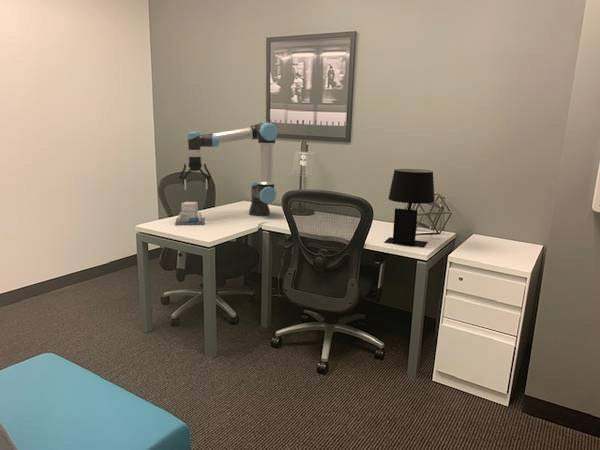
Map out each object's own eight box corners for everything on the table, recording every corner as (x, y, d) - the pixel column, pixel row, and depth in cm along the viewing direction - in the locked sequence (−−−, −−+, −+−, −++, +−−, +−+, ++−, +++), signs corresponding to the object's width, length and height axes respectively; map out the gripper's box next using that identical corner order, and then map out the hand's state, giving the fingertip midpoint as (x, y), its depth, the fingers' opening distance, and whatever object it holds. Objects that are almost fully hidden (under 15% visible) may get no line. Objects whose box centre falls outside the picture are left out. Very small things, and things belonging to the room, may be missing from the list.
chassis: (204, 219, 303) (204, 211, 302) (204, 224, 288) (204, 216, 287) (176, 220, 299) (176, 212, 298) (175, 225, 284) (174, 216, 283)
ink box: (198, 219, 297) (197, 201, 295) (194, 221, 289) (194, 203, 286) (185, 218, 298) (185, 201, 295) (181, 221, 289) (180, 203, 287)
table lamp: (380, 242, 253) (384, 171, 245) (391, 233, 278) (395, 167, 270) (426, 248, 243) (433, 174, 235) (433, 237, 268) (439, 170, 260)
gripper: (214, 155, 296) (215, 188, 300) (174, 156, 290) (176, 189, 295) (214, 156, 289) (215, 189, 293) (174, 157, 283) (176, 190, 288)
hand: (196, 189), depth 294 cm, fingers open, 13 cm apart
